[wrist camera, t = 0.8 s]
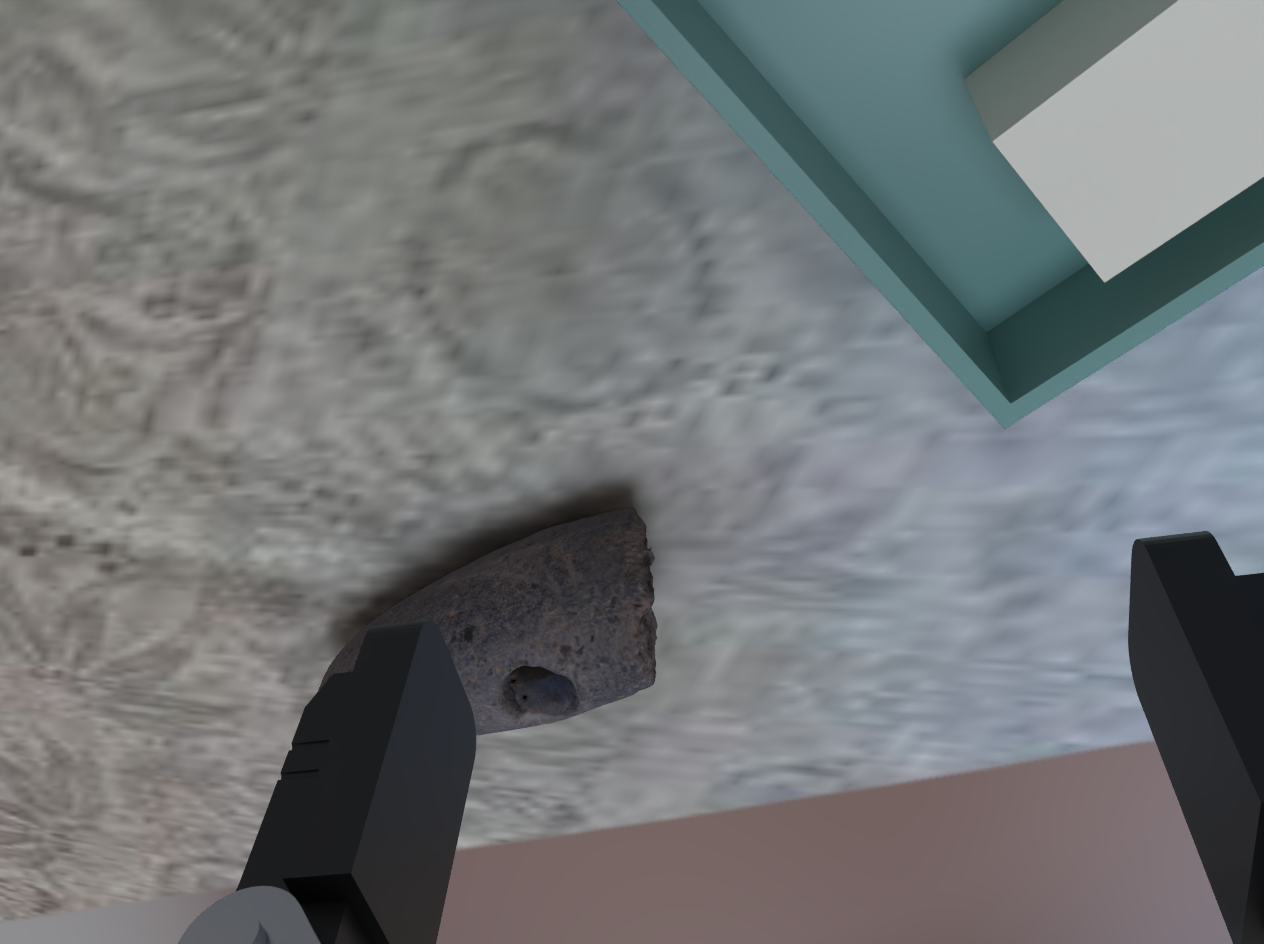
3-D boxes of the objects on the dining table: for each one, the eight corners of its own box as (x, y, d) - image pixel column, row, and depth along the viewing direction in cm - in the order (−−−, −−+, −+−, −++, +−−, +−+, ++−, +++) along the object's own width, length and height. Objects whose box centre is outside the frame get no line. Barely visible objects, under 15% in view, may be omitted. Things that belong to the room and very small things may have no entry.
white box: (1207, -115, 29) (1274, -73, 26) (1304, 40, 31) (1379, 99, 27) (963, 79, 32) (992, 141, 29) (1065, 209, 34) (1104, 282, 31)
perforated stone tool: (377, 679, 49) (331, 820, 43) (301, 591, 46) (241, 728, 41) (711, 566, 44) (708, 707, 39) (647, 460, 42) (634, 595, 36)
